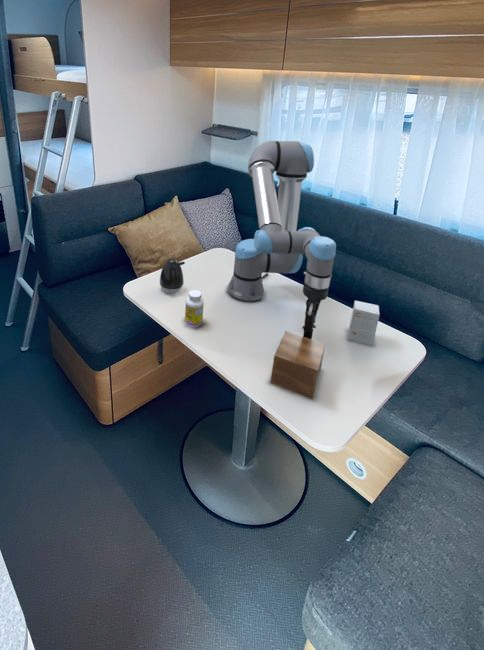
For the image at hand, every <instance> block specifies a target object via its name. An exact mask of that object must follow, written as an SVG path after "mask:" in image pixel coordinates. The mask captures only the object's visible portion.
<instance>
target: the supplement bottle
mask: <svg viewBox="0 0 484 650" xmlns="http://www.w3.org/2000/svg"><path fill="white" fill-rule="evenodd" d="M202 296H203V295H202V292H201V291H200V290H197V289H193V290H190V291H189V292H188V297H187V298H186V299H185V308H184V310H185V311H184V323H185V325H186V326H188V327H190V328H198V327H200V326H201V325H202V324H203V318H204V304H205V302H204V299H203V297H202Z"/></svg>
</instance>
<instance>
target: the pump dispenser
mask: <svg viewBox="0 0 484 650" xmlns="http://www.w3.org/2000/svg"><path fill="white" fill-rule="evenodd" d="M185 264H186V262H185V261H178V259H177V258H176V257H175V258H174V257H170V258H167V260H166V261H165V262H164V264H163V266H162V268H161V272H160V276H159V285H160V287H161V289H162V290H163V292H164V293H167V294H176V293H179V292H180V291H181V290H182V288H183V286H184V283H185V282H184V274H183V269H182V266H183V265H185Z"/></svg>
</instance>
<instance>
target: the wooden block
mask: <svg viewBox="0 0 484 650" xmlns="http://www.w3.org/2000/svg"><path fill="white" fill-rule="evenodd" d="M325 348H326V343H324V342H321V341H318V340H315V339H309V338H305V337H303V335H299V334H295V333H293V332H289V331H286V330H285V331H284V333H283V335H282V337H281V339H280V342H279V343H278V346H277V349H276V351H275V353H274V356H273V361H272V362H273V363H272V368H271V374H270V375H271V376H270V382H269V384H271V385H274V386H277V387H280V388H281V389H285V390H287V391H289V392H293V393H295V394H298V395H301V396H303V397H306V398H308V399H311V400H313V398H314V395H315V392H316V388H317V384H318V381H319V378H320V373H321V371H322V364H323V358H324V354H325V350H326V349H325Z"/></svg>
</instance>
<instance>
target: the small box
mask: <svg viewBox="0 0 484 650" xmlns="http://www.w3.org/2000/svg"><path fill="white" fill-rule="evenodd" d="M379 319H380V306H379V305H378V304H373V303H368V302H364V301H359V300H354V302H353V307H352V312H351V317H350V322H349V327H348V340H349V341H354V342H357V343H361V344H366V345H369V346H373V344H374V340H375V337H376V333H377V328H378V323H379Z"/></svg>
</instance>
